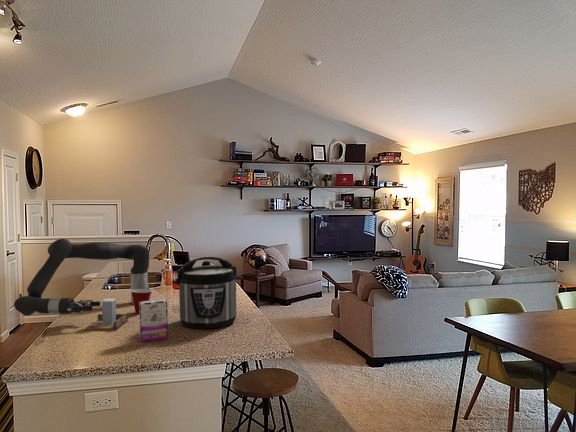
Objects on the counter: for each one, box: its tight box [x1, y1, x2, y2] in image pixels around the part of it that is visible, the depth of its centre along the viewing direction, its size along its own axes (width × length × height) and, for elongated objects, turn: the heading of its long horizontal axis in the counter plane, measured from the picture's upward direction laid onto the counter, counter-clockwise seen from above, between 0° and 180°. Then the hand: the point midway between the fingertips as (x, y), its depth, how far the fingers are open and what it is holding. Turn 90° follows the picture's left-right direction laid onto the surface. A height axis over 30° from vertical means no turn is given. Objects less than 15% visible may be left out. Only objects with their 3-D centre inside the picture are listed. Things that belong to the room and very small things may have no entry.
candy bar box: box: [138, 298, 169, 343], centre depth 182 cm, size 11×5×16 cm, turn 114°
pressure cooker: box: [171, 256, 243, 330], centre depth 207 cm, size 30×28×32 cm
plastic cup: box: [130, 289, 153, 315], centre depth 226 cm, size 11×11×12 cm
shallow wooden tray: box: [84, 313, 129, 332], centre depth 202 cm, size 15×14×4 cm
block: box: [101, 298, 117, 324], centre depth 202 cm, size 5×5×11 cm
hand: (96, 306), depth 202 cm, fingers open, 8 cm apart
